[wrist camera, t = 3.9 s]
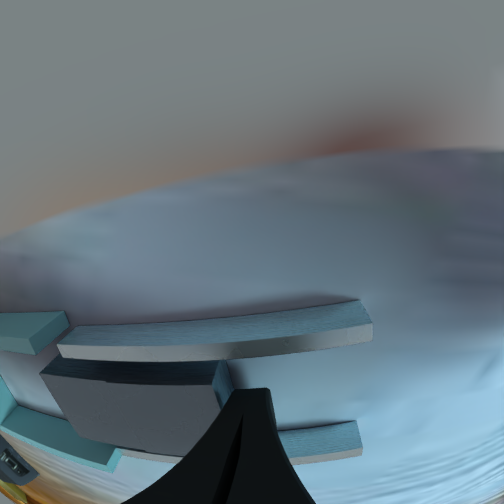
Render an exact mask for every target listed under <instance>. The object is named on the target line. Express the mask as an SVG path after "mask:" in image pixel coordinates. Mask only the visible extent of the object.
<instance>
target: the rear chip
mask: <svg viewBox="0 0 504 504" xmlns="http://www.w3.org/2000/svg"><path fill="white" fill-rule="evenodd" d="M120 362H121V361H106V360H88V359H75V358H63V357H62V355H61V353H60V354H59V355H58V356H57V357H56V358H55V359H54V360H52V361H51V362H50V363H49V364H48V365H47V366H46V367H45V368H44V369H43V370H42V371H41V372H40V375H41V377H42V379H43V380H44V382H45V384H46V386H47V387H48V389H49V391H50V392H51V394H52V396H53V397H54V399H55V401H56V402H57V404H58V406H59V407H60V409H61V410H62V412H63V413H64V415H65V416H66V418H67V419H68V421H69V422H70V424H71V425H72V427H73V428H74V430H75V431H76V432H77V434H78V435H79V436H80V437H81V438H85V439H90V440H94V441H98V442H103V443H107V444H112V445H118V446H123V447H129V448H135V449H142V450H145V449H144V448H143V446H142V445H141V443H140V441H139V440H138V438H137V437H136V435H135V434H134V432H133V430H132V429H131V427H130V426H129V424H128V422H127V421H126V419H125V417H124V416H123V414H122V412H121V410H120V409H119V407H118V405H117V403H116V402H115V400H114V398H113V396H112V394H111V392H110V390H109V389H108V387H107V385H106V383H105V382H106V381H107V380H108V378H109V377H110V376H111V374H112V373H113V372H114V370H115V369H116V368H117V366H118V365H119V364H120Z"/></svg>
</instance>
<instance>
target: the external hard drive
mask: <svg viewBox="0 0 504 504" xmlns="http://www.w3.org/2000/svg"><path fill="white" fill-rule="evenodd" d="M37 476H39V473H38V472H37V471H36V470H35V469H34V468H33V467H31V466H30V465H29V464H28V463H27V462H26V461H25V460H24V459H23V458H22V457H21V456H20V455H19V454H18V453H17V452H16V451H15V450H14V449H13V448H12V446H11V445H10V444H9V443H8V442H7V441H6V440H5V439H4V438H3V437H2V436H1V435H0V480H2V481H3V482H6V483H12V484H17V485H20V486H23V485H25V484H27V483H29V482H30V481H32V480H33V479H35V478H36V477H37Z"/></svg>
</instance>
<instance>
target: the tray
mask: <svg viewBox="0 0 504 504" xmlns="http://www.w3.org/2000/svg"><path fill="white" fill-rule="evenodd" d="M69 326H70V325H69V322H68V320H67V317H66V315H65V312H64V311H55V312H26V313H0V350H4V351H10V352H16V353H23V354H31V355H37V354H38V353H39V352H40V351H41V350H42V349H44V348H45V347H46V346H47V345H48V344H49V343H50V342H52V341H53V340H54V339H55V338H56V337H57V336H58V335H60V334H61V333H62V332H63V331H64V330H65V329H67V328H68V327H69ZM0 429H1V430H2V431H4V432H6V433H8V434H10V435H12V436H14V437H16V438H18V439H20V440H22V441H24V442H26V443H28V444H30V445H33V446H35V447H37V448H40V449H42V450H44V451H47V452H49V453H52V454H54V455H57V456H60V457H62V458H65V459H68V460H71V461H73V462H76V463H79V464H82V465H86V466H89V467H92V468H95V469H99V470H102V471H106V472H110V473H113V472H114V470H115V468H116V466H117V464H118V462H119V460H120V458H121V456H122V455H121V454H120V453H119V452H118V450H117V449H116V446H117V445H112V444H107V443H103V442H98V441H94V440H90V439H85V438H81V437H80V436H79V435H78V434H77V432H76V431H75V430H74V428H73V427H72V425H71V424H70V422H69V421H67V420H63V419H60V418H56V417H52V416H49V415H46V414H42V413H39V412H36V411H33V410H30V409H27V408H24V407H21V406H19V405H18V404H17V403H16V401H15V400H14V398H13V396H12V395H11V393H10V391H9V390H8V388H7V386H6V384H5V383H4V381H3V379H2V377H1V376H0Z"/></svg>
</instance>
